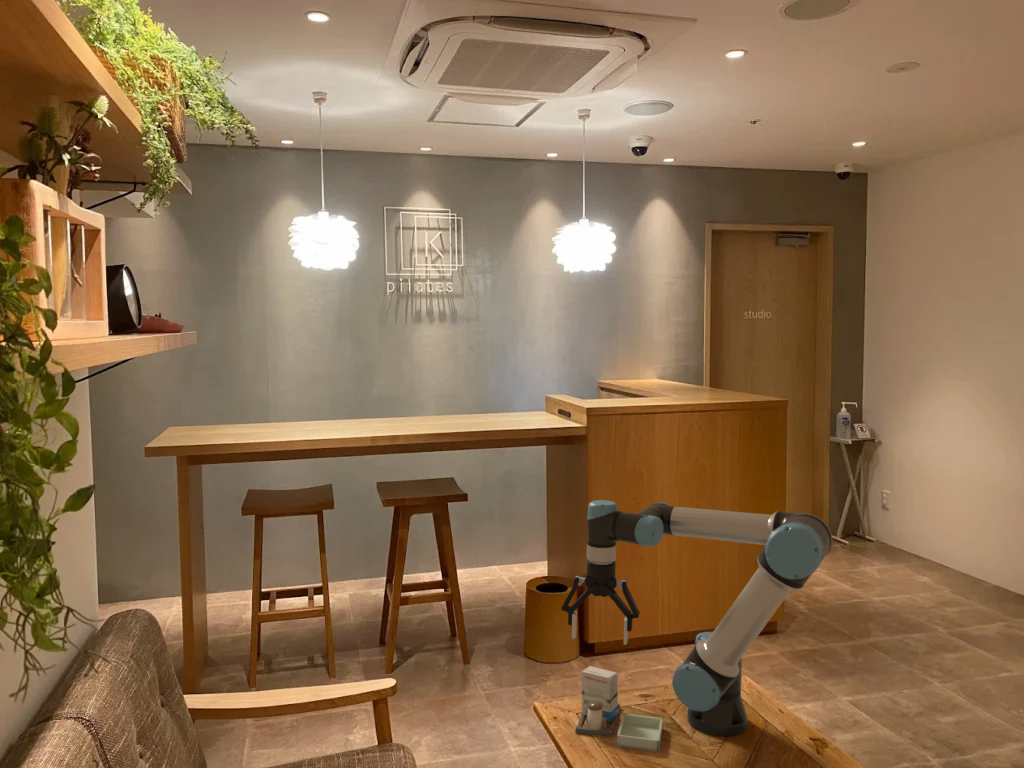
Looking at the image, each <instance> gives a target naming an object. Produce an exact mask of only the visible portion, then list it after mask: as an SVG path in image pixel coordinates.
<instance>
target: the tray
mask: <svg viewBox="0 0 1024 768" xmlns="http://www.w3.org/2000/svg"><path fill="white" fill-rule="evenodd" d="M663 730H664V718H663V717H656V716H648V715H640V714H639V715H638V714H632V713H631V714H630V713H623V712H622V716H621V720H620V723H619V727H618V730H617V735H616V747H617V748H625V749H631V750H639V751H640V750H641V751H647V752H652V753H653V752H654V753H660V748H661V744H662V743H661V742H662V736H663Z"/></svg>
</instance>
